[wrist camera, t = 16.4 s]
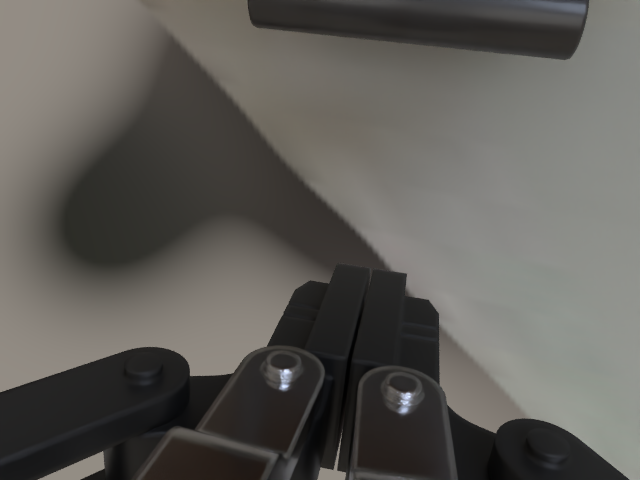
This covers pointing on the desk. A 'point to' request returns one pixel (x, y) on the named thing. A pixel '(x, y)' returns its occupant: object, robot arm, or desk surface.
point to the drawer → (437, 22)
